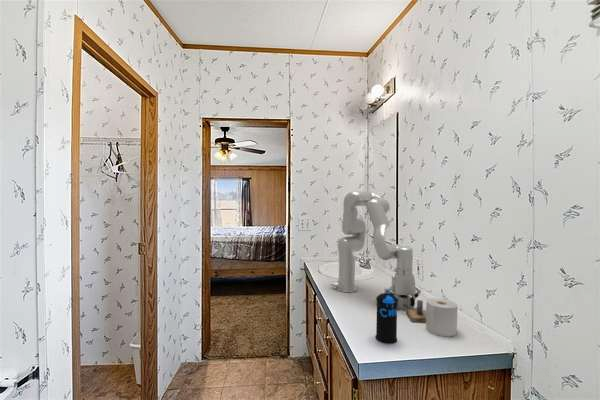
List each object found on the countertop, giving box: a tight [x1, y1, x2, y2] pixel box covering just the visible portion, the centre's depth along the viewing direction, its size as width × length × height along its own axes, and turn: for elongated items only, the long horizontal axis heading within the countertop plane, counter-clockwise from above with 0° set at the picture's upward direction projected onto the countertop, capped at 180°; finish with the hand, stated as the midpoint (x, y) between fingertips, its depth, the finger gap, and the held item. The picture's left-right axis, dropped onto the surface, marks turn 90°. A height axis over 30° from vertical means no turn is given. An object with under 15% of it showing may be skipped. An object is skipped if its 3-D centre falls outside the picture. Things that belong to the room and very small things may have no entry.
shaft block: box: [405, 299, 426, 324], centre depth 141 cm, size 10×10×8 cm
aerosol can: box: [375, 287, 398, 344], centre depth 120 cm, size 8×8×20 cm
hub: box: [397, 295, 412, 312], centre depth 153 cm, size 6×6×6 cm
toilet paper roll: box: [425, 297, 458, 337], centre depth 129 cm, size 12×12×12 cm
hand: (403, 306), depth 153 cm, fingers open, 7 cm apart
